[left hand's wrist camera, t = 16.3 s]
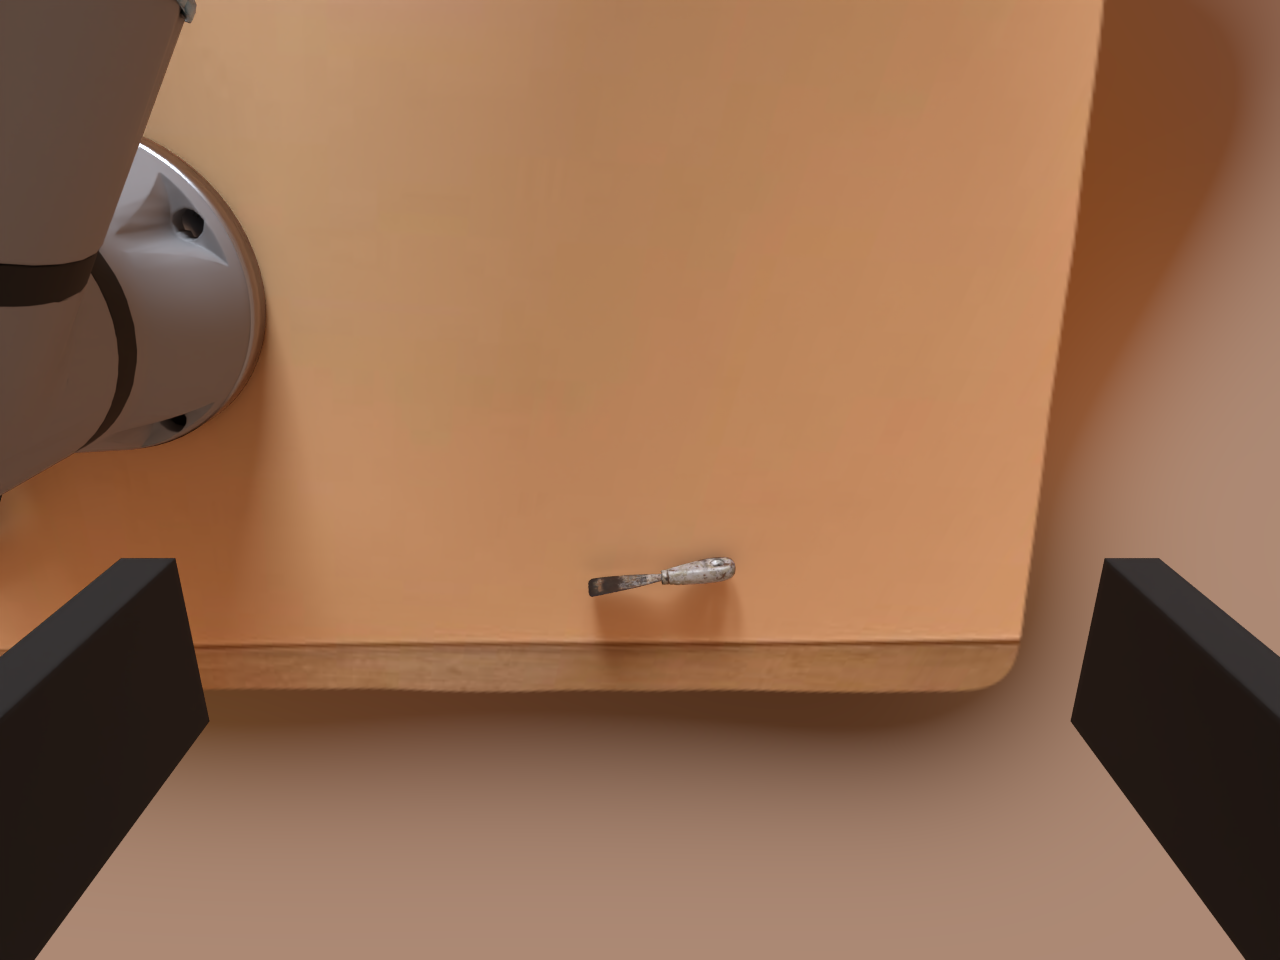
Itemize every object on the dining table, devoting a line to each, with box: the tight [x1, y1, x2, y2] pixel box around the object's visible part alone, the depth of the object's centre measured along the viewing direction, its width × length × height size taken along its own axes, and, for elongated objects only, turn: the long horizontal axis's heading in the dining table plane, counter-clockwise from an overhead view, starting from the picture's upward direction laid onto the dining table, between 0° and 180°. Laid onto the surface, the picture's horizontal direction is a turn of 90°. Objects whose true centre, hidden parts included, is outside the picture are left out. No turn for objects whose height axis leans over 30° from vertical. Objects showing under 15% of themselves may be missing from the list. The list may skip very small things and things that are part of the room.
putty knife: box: [588, 557, 735, 597], centre depth 48 cm, size 1×8×2 cm, turn 100°
